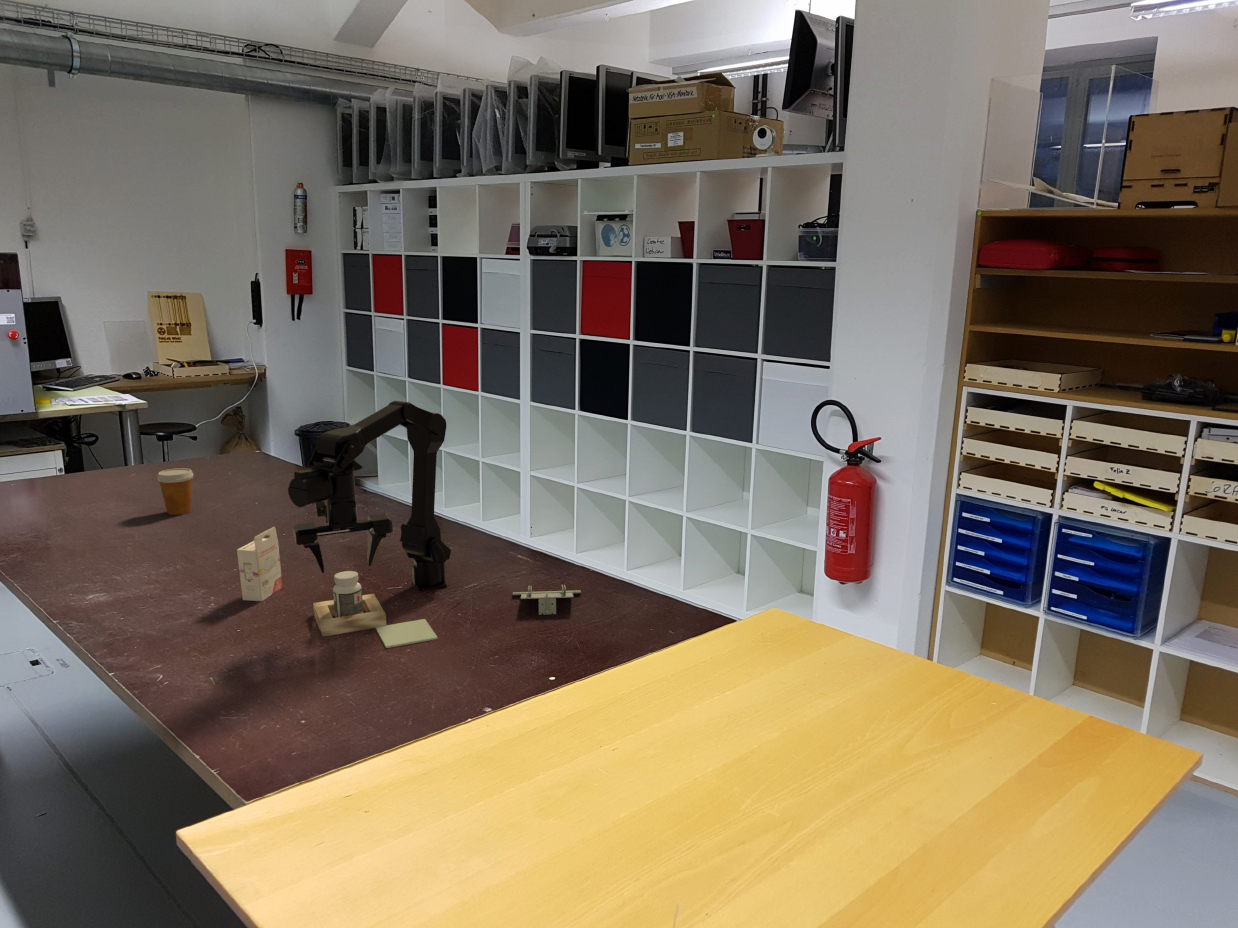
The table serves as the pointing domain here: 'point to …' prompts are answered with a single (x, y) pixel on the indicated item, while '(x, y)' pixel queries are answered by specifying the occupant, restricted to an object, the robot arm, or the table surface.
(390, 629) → the mat
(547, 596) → the metal bracket
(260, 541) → the ink cartridge box
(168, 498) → the disposable coffee cup
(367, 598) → the pocket holder
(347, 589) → the pill bottle
